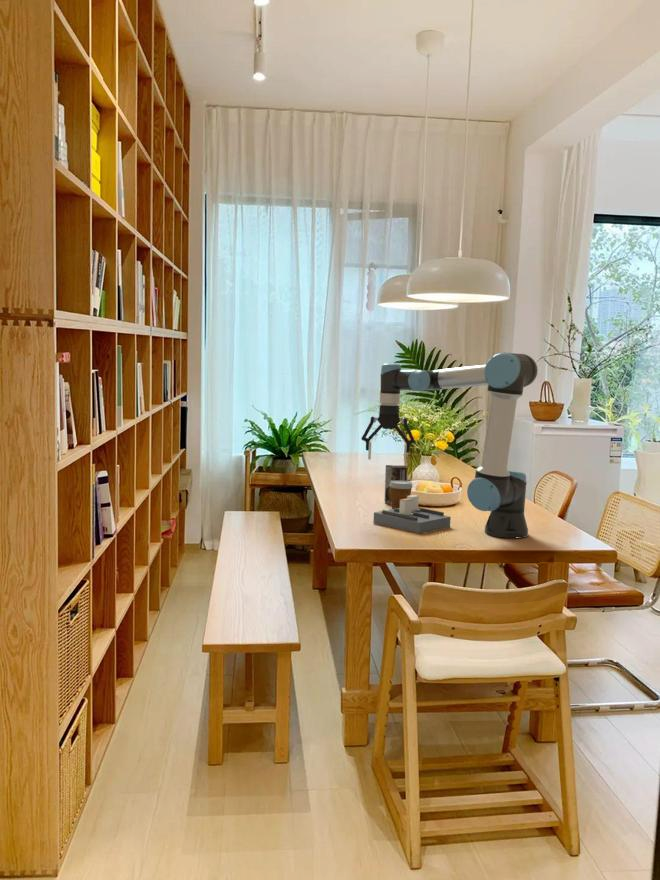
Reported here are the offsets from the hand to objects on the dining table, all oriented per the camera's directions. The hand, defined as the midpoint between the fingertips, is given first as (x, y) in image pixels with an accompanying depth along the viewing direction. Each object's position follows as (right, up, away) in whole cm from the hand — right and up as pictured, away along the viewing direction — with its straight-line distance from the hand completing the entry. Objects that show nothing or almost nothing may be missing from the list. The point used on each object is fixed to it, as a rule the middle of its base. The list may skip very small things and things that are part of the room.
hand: (387, 460), depth 289 cm
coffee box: (+6, -20, +36) cm, 42 cm away
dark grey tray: (+9, -24, -7) cm, 27 cm away
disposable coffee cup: (+7, -22, +19) cm, 29 cm away
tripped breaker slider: (+6, -20, -11) cm, 23 cm away
